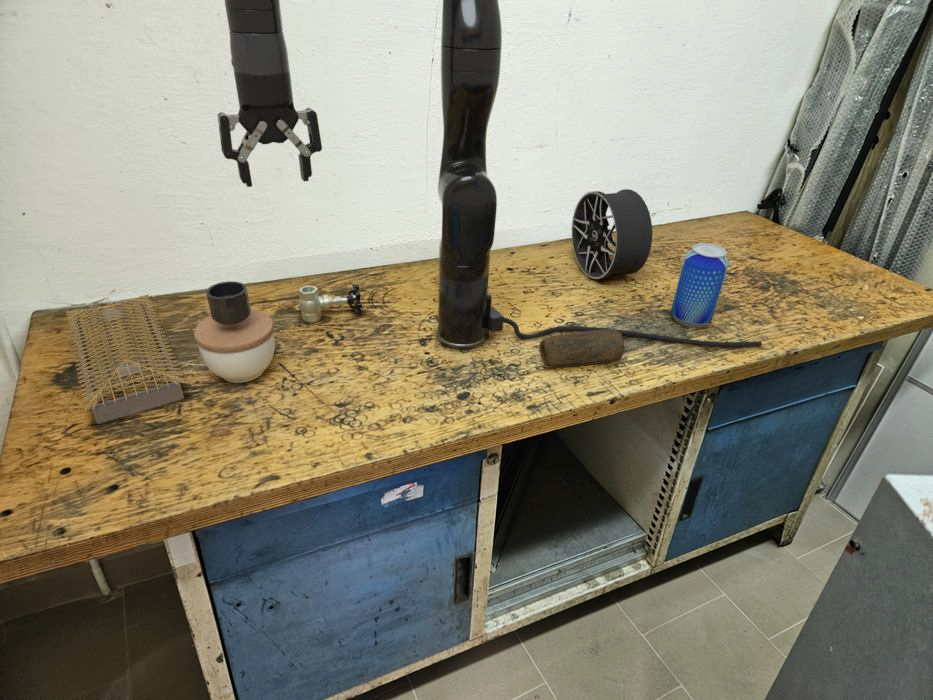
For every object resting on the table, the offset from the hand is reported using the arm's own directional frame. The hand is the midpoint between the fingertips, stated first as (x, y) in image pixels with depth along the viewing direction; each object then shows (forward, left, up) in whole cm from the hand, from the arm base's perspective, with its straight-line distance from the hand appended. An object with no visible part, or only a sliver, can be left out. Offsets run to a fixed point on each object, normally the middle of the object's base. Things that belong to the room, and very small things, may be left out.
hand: (277, 182), depth 91 cm
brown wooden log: (-46, +23, -32) cm, 61 cm away
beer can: (-78, +19, -32) cm, 87 cm away
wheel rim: (-75, -7, -32) cm, 82 cm away
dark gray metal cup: (+11, +1, -21) cm, 24 cm away
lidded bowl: (+11, +1, -32) cm, 34 cm away
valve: (-9, -12, -32) cm, 36 cm away
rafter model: (+29, -11, -32) cm, 44 cm away
